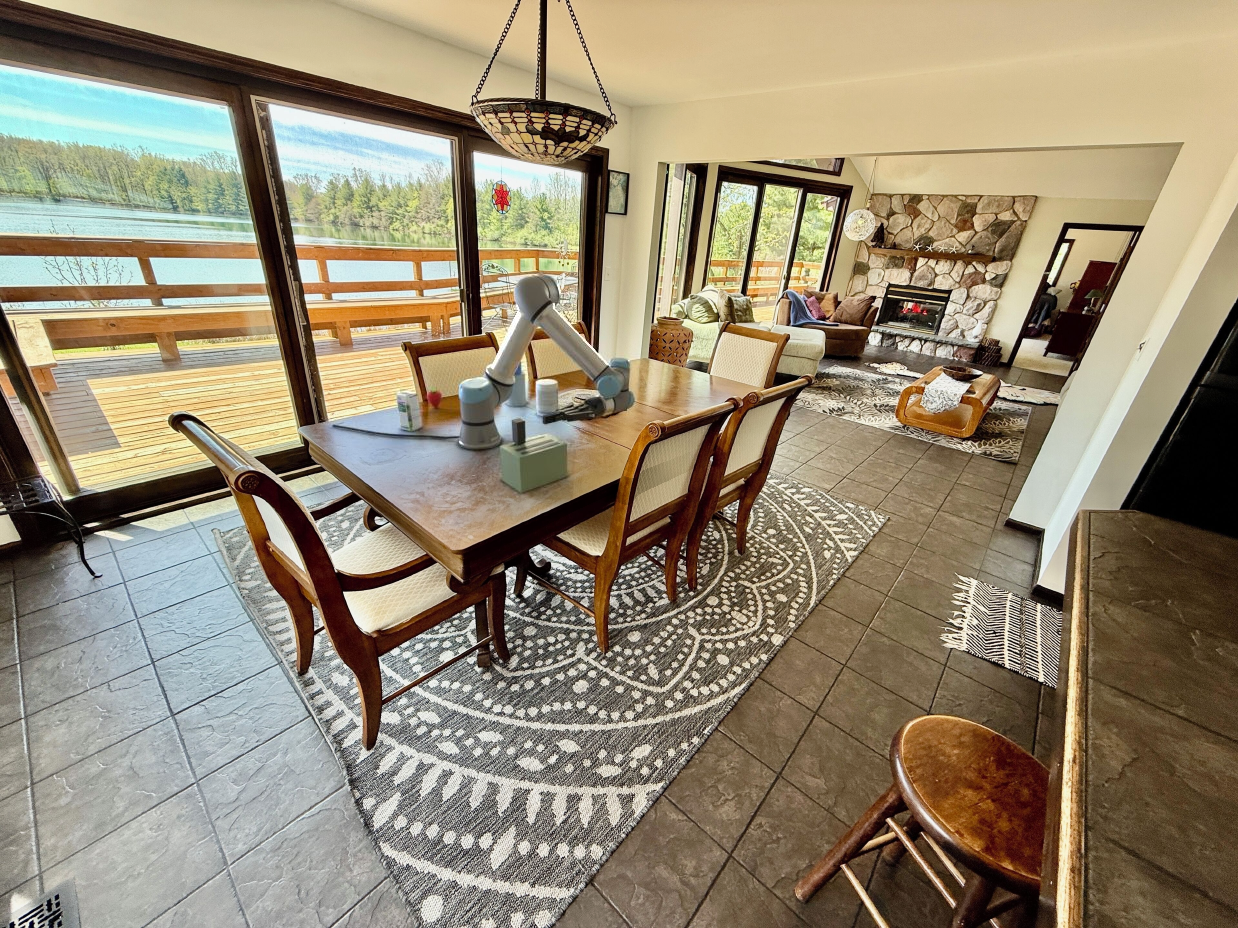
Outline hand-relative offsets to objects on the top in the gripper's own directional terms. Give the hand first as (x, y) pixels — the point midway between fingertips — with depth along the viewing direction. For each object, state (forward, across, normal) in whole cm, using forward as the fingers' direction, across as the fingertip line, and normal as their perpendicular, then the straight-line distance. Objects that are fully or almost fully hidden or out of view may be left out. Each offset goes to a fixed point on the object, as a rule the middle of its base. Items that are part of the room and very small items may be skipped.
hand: (543, 420), depth 156 cm
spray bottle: (-30, +65, -18) cm, 73 cm away
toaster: (+7, -4, -18) cm, 19 cm away
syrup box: (+20, +62, -18) cm, 68 cm away
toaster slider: (+10, 0, -5) cm, 11 cm away
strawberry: (+2, +80, -18) cm, 81 cm away
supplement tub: (-33, +44, -18) cm, 58 cm away
